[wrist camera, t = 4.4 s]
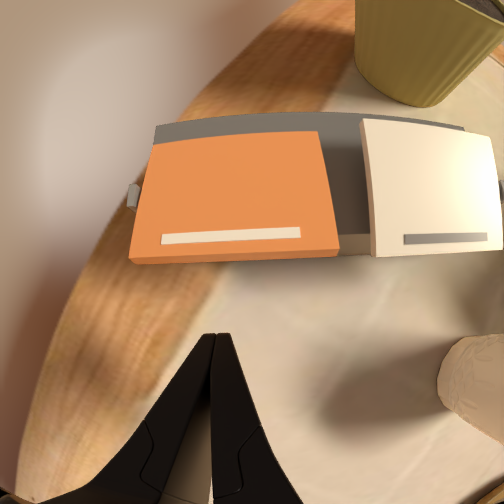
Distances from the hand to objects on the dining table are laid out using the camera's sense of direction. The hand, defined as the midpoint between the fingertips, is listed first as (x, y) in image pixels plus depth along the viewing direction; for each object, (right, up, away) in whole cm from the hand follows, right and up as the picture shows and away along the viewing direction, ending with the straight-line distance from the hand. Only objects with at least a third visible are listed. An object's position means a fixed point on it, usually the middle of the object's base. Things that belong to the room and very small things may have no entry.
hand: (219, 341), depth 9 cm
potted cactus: (+18, +23, +16) cm, 33 cm away
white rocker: (+11, +6, +4) cm, 14 cm away
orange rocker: (0, +6, +5) cm, 8 cm away
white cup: (+19, -8, +10) cm, 23 cm away
